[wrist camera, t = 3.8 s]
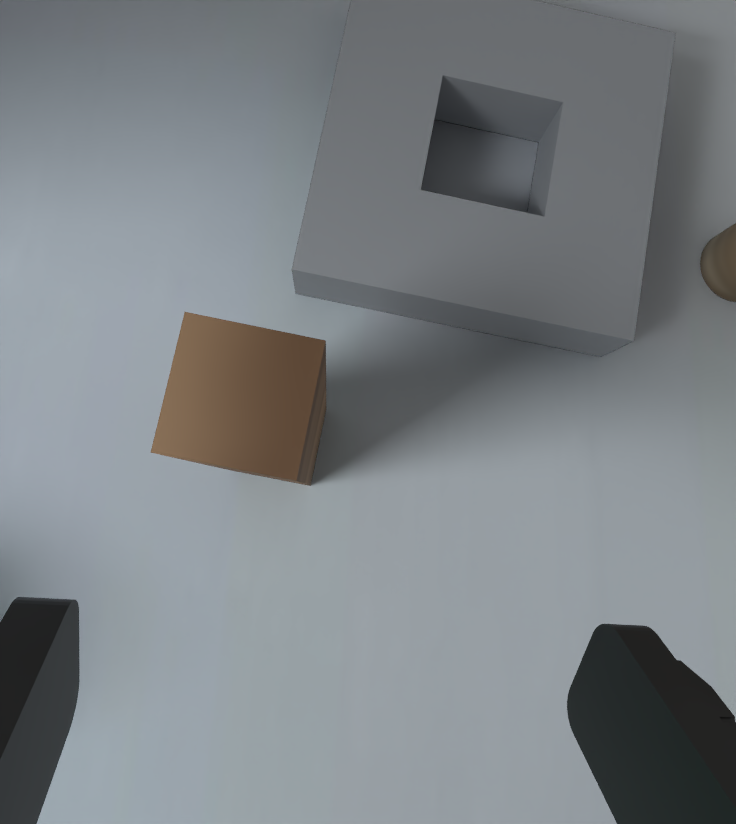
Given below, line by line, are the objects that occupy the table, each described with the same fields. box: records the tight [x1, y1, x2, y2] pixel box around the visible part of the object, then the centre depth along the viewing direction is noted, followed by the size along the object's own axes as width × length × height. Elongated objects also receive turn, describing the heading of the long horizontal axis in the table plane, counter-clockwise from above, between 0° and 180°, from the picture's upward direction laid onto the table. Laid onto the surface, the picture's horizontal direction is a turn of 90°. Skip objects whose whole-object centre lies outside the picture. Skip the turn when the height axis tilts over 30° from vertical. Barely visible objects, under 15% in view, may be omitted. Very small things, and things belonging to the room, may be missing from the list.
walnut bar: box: [151, 312, 326, 486], centre depth 20 cm, size 3×3×12 cm
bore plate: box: [292, 0, 676, 357], centre depth 27 cm, size 14×14×3 cm
